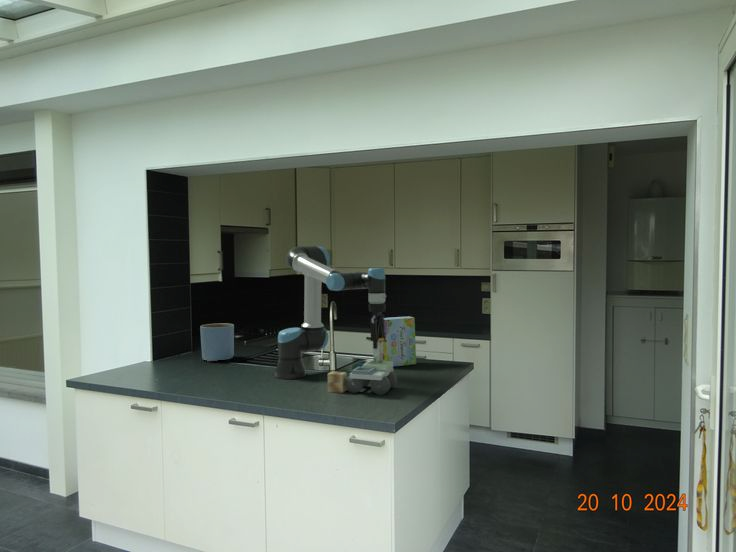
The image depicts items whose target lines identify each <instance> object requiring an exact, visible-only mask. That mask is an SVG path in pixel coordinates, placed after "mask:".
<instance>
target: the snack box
mask: <svg viewBox="0 0 736 552" xmlns="http://www.w3.org/2000/svg"><path fill="white" fill-rule="evenodd" d="M415 322H416V321H415V317H413V316H409V315H408V316H397V317H394V316H393V317H384V337H385V339H384V341H383V361H393V368H394V367H401V366H412V365H417V351H416V349H417V347H416V346H417V345H416V323H415Z"/></svg>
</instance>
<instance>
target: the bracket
mask: <svg viewBox="0 0 736 552" xmlns="http://www.w3.org/2000/svg"><path fill="white" fill-rule="evenodd" d="M366 362H367V361H365V360H364V361H360V362H358V363H355V364H353V365H352V368H351V370H346V369H345V370H343V369H342V370H336V371H335V372H346V375H347V377H348V376H349V375H350V373H352V370H353V369H355V368H357V367H362V366H363V364H365V363H366Z"/></svg>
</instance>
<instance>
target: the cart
mask: <svg viewBox="0 0 736 552" xmlns="http://www.w3.org/2000/svg"><path fill="white" fill-rule="evenodd" d="M351 371H352V373H350V375H349V376H348V377H347V378H346V380H345V387H346V389H347V390H346V391H348V392H349V393H351V394H356V393H359V391H362V390H363V388H365V387H367V386H368V385H370V389H371V391H372V392H373V393H374V394H376V395H378V396H382V395H385V394H387V392H388V391H390V390H391V389H392V388H394V387H395V386H396V385H397V383H398V378H397V374H396V373H395V371H394V367H392V368H391V369H390V370H388V371H387V372H385V371H376V368H374V367H363V366H362V367H357V368H355V369H353V370H352V369H351Z"/></svg>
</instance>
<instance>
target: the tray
mask: <svg viewBox="0 0 736 552" xmlns="http://www.w3.org/2000/svg"><path fill="white" fill-rule="evenodd" d="M363 367H374V368H376V371H385V372H387V371H388V370H390V369H391V368H392V367H393V361H383V363H379V364H378V363H374V359H373V360H368V361H366V363H365V364H363ZM393 368H394V367H393Z"/></svg>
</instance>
